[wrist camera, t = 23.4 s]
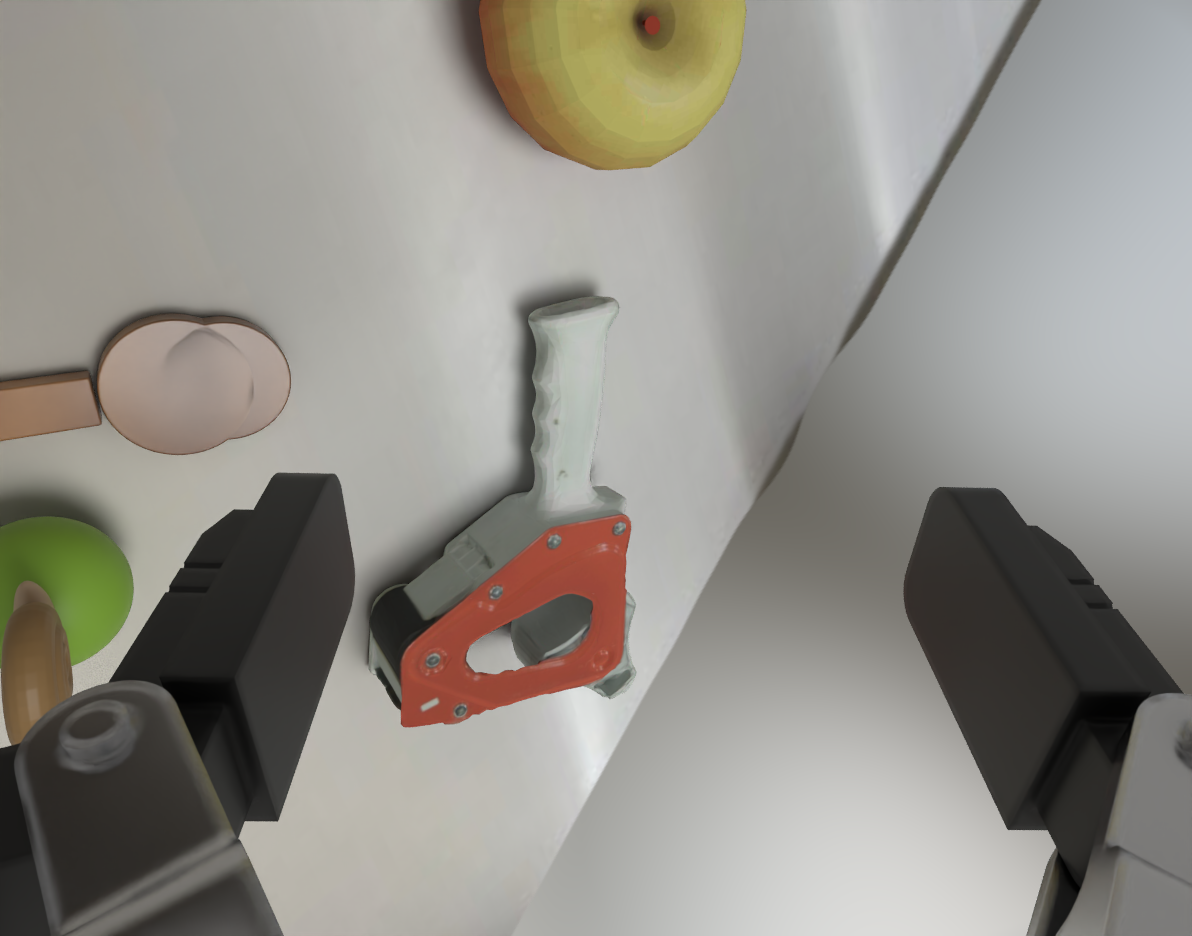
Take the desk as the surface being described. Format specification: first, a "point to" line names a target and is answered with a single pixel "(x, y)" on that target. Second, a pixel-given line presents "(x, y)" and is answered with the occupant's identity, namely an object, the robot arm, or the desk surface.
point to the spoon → (162, 386)
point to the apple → (612, 72)
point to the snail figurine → (54, 610)
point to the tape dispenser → (525, 559)
